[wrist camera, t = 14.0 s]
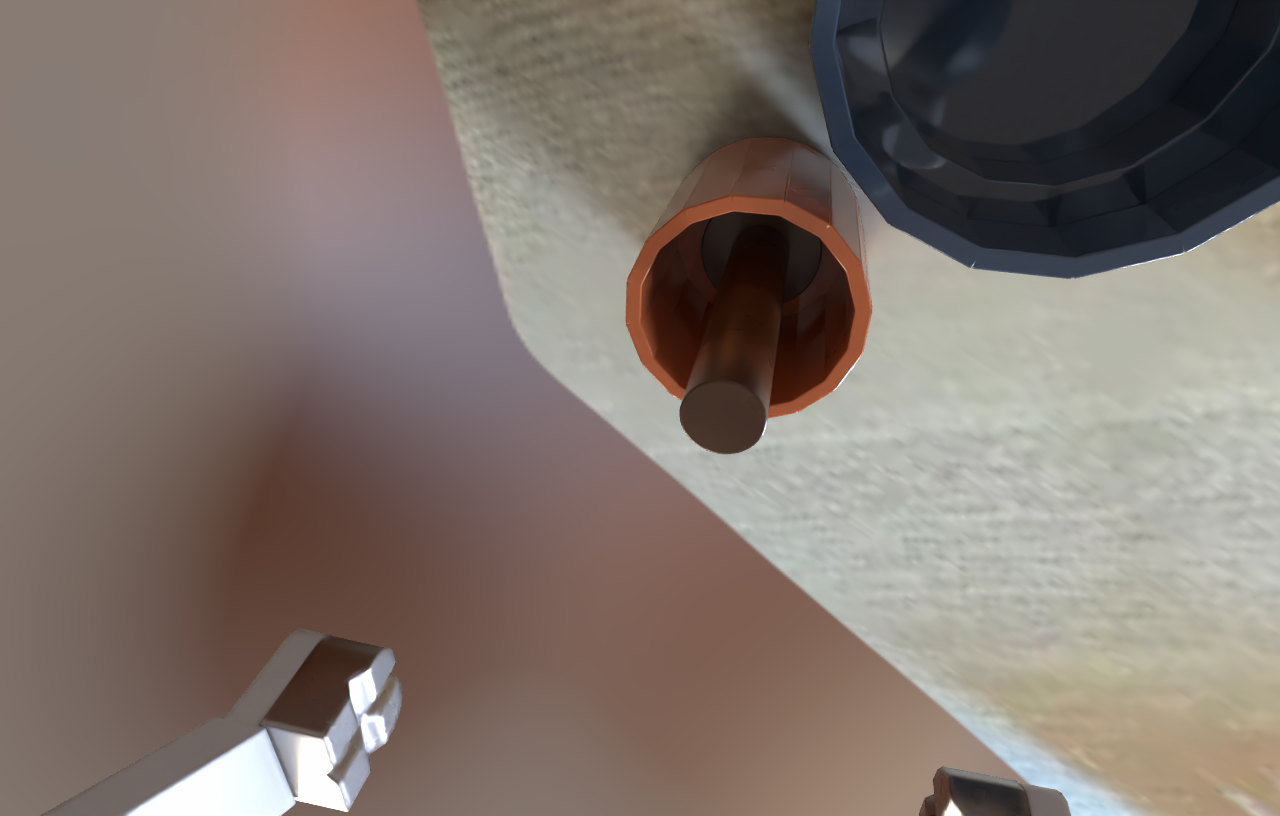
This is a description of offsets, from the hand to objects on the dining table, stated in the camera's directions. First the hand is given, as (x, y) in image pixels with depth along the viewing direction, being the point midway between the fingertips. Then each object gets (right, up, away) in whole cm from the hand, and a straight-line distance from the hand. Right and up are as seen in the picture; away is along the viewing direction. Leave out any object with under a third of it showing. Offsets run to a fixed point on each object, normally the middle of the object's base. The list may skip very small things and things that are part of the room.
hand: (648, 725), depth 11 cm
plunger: (+5, +11, +18) cm, 22 cm away
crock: (+5, +12, +19) cm, 23 cm away
